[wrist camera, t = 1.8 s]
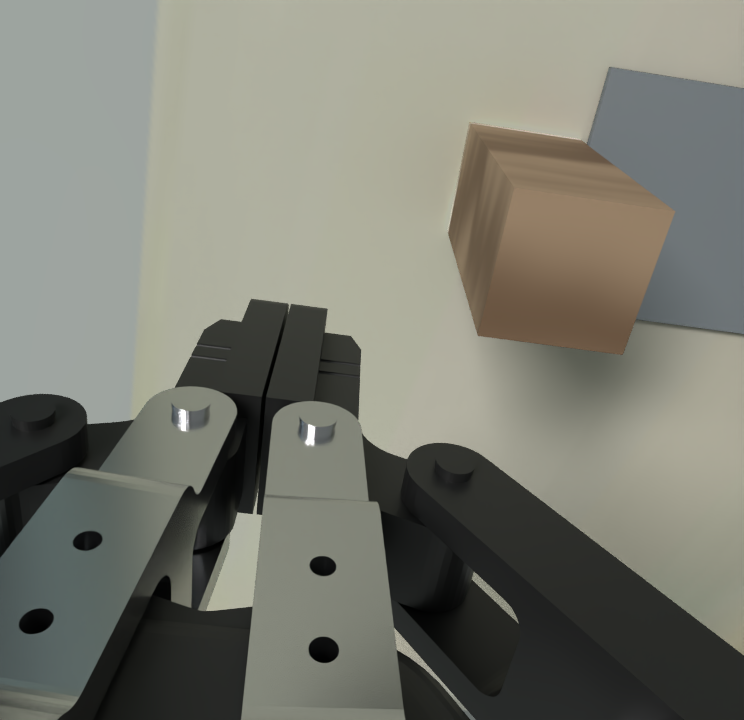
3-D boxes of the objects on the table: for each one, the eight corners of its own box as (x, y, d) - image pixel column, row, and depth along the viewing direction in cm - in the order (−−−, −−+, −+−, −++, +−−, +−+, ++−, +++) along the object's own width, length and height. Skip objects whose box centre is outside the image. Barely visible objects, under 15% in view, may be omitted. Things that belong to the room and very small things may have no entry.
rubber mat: (609, 66, 26) (611, 67, 26) (904, 114, 27) (909, 115, 26) (540, 303, 31) (542, 306, 30) (792, 338, 31) (796, 340, 31)
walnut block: (469, 121, 27) (514, 187, 18) (579, 138, 27) (675, 211, 18) (447, 230, 29) (478, 335, 20) (549, 244, 29) (622, 354, 21)
